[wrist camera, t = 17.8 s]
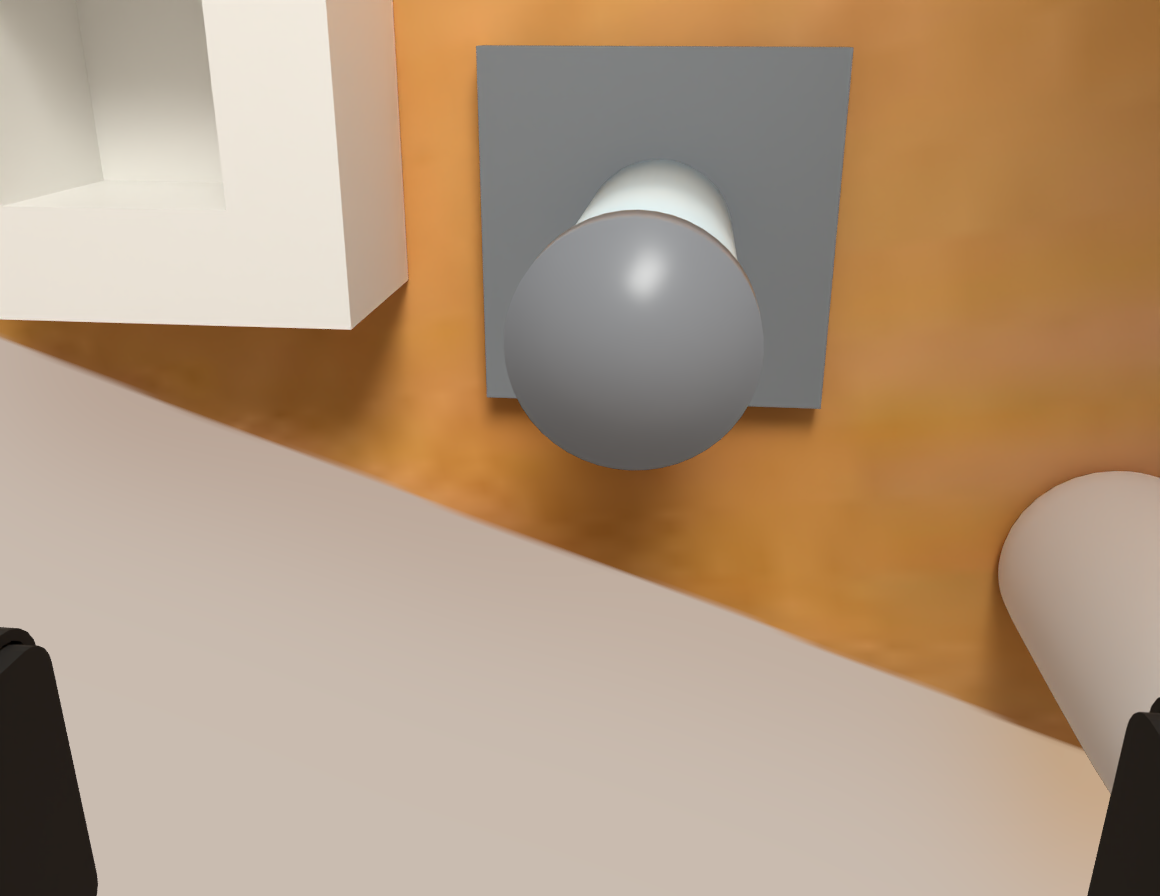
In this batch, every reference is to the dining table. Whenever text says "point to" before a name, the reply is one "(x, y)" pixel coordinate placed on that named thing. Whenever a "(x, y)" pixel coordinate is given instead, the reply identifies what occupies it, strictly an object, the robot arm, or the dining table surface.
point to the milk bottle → (1091, 602)
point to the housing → (199, 162)
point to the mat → (683, 134)
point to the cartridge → (638, 324)
